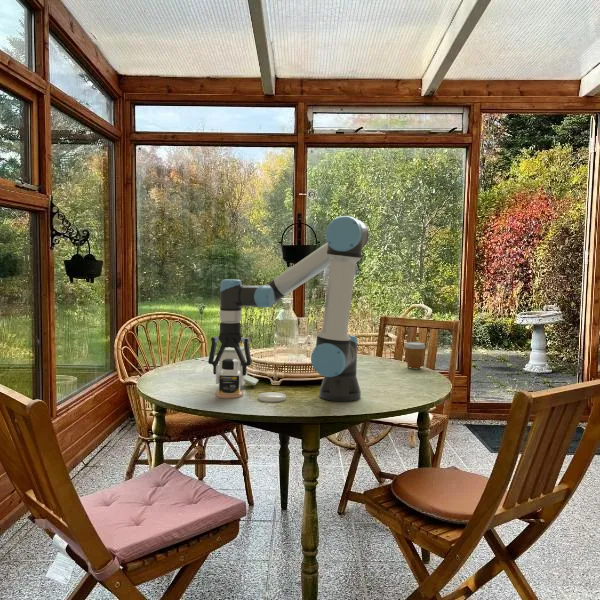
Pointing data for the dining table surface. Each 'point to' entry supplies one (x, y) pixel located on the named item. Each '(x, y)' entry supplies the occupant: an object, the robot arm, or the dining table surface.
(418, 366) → the disposable coffee cup
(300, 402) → the dining table surface
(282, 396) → the white domed round part
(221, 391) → the medicine bottle
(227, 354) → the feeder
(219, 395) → the peach round disc
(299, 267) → the robot arm
